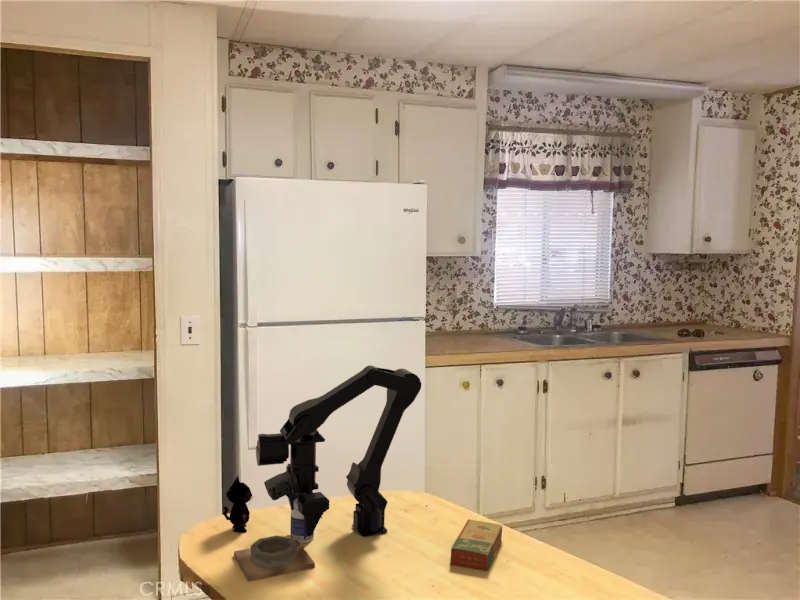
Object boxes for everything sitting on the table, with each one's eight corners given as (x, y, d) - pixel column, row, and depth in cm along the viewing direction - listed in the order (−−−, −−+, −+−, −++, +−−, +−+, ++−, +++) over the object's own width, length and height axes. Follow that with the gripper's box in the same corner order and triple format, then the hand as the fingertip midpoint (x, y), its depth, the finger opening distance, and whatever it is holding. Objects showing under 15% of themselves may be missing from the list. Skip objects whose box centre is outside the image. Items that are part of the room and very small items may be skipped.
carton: (502, 541, 156) (503, 524, 155) (487, 573, 141) (488, 554, 140) (467, 535, 159) (467, 518, 158) (449, 566, 143) (450, 547, 143)
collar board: (296, 543, 152) (296, 528, 151) (314, 567, 141) (314, 551, 141) (234, 555, 145) (234, 540, 145) (248, 581, 135) (248, 564, 134)
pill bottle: (309, 545, 151) (309, 506, 150) (287, 542, 152) (287, 504, 151) (316, 535, 156) (317, 497, 155) (295, 532, 157) (295, 495, 157)
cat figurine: (253, 534, 156) (253, 483, 155) (222, 536, 154) (222, 485, 153) (252, 521, 163) (253, 473, 162) (223, 523, 161) (223, 474, 160)
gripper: (257, 453, 157) (256, 518, 159) (280, 479, 141) (280, 551, 142) (302, 447, 162) (302, 510, 164) (330, 472, 146) (329, 542, 147)
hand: (302, 527), depth 154 cm, fingers open, 9 cm apart
